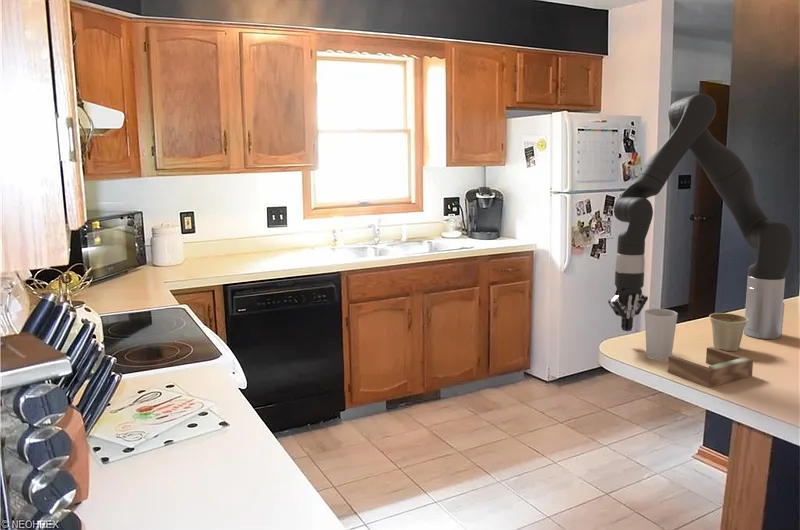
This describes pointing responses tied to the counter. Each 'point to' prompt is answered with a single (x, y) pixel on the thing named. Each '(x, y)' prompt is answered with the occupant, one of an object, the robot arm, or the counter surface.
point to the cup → (660, 333)
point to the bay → (712, 368)
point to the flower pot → (727, 330)
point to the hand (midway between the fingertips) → (626, 330)
